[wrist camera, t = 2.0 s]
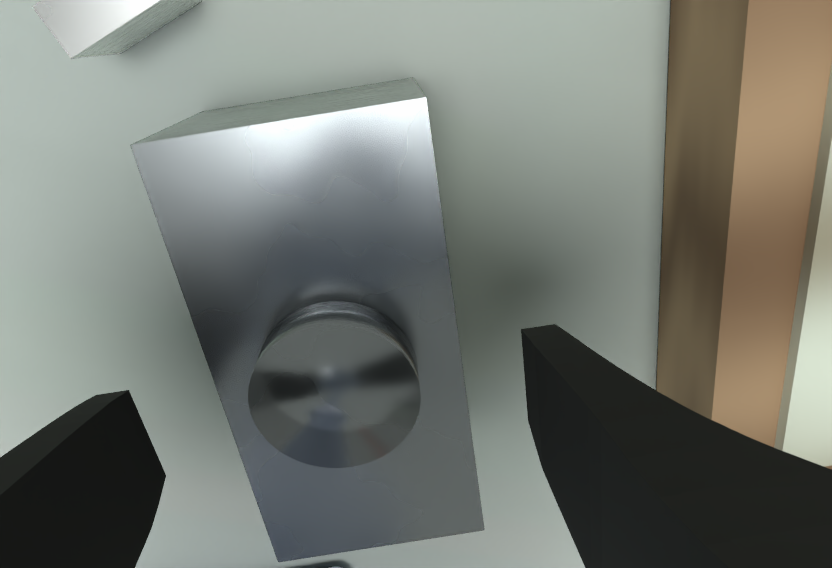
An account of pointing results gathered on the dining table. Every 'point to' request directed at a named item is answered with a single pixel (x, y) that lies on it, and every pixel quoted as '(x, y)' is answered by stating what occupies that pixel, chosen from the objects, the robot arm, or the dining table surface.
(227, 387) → the block
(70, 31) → the loose bolt
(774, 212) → the stand
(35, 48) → the dining table surface
